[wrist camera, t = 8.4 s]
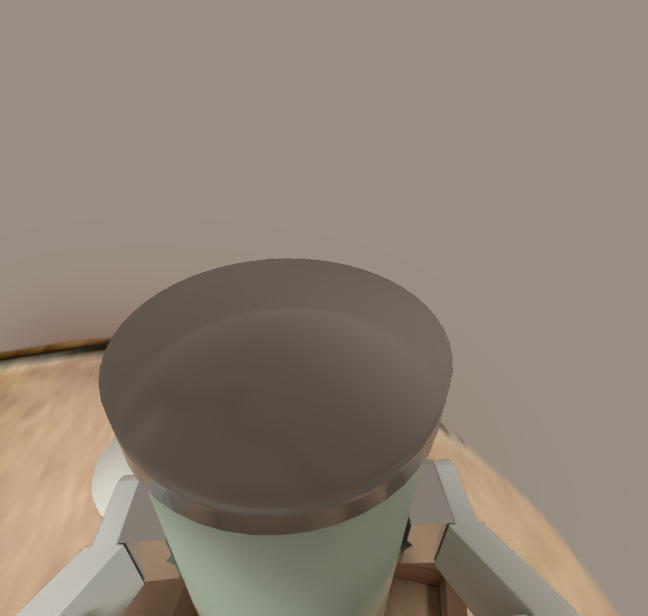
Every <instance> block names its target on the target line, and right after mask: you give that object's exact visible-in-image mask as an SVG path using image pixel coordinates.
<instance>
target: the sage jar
mask: <svg viewBox="0 0 648 616" xmlns="http://www.w3.org/2000/svg"><path fill="white" fill-rule="evenodd" d="M452 369H453V368H452V352H451V348H450V343H449V341H448V338H447V335H446V333H445V331H444V329H443V327H442V325H441V324H440V322H439V321H438V319H437V318H436V316H435V315H434V314H433V313H432V312H431V311H430V309H429V308H428V307H427V306H426V305H425V304H424V303H423V302H421V301H420V300H419V299H418V298H417V297H416V296H414V295H413V294H412V293H410V292H409V291H407V290H406V289H404V288H403V287H401V286H399V285H397V284H396V283H394V282H392V281H390V280H388V279H386V278H384V277H381V276H379V275H377V274H374V273H371V272H368V271H366V270H363V269H359V268H356V267H352V266H348V265H344V264H339V263H333V262H327V261H320V260H310V259H267V260H258V261H249V262H243V263H237V264H233V265H228V266H224V267H220V268H216V269H213V270H210V271H206V272H203V273H200V274H198V275H195V276H192V277H190V278H187V279H185V280H183V281H181V282H178V283H177V284H174V285H172V286H170V287H169V288H167V289H165V290H163V291H161V292H160V293H158V294H157V295H155V296H154V297H152V298H151V299H149V300H148V301H146V302H145V303H144V304H143V305H142V306H140V307H139V308H138V309H137V310H135V311H134V312H133V313H132V314H131V315H130V316H129V317H128V318H127V319H126V320H125V321H124V322H123V323H122V325H121V326H120V327H119V329H118V330H117V331H116V333H115V334H114V336H113V337H112V338H111V340H110V342H109V344H108V346H107V348H106V350H105V352H104V356H103V359H102V363H101V366H100V374H99V389H100V396H101V402H102V404H103V407H104V409H105V412H106V414H107V417H108V419H109V422H110V424H111V426H112V429H113V431H114V433H115V436H116V438H117V440H118V443H119V445H120V447H121V450H122V452H123V454H124V457H125V459H126V461H127V464H128V466H129V468H130V469H131V471H132V472H133V474H134V475H135V477H136V478H137V480H138V481H139V483H140V484H141V485H142V486H143V487H144V488H145V489H146V490H147V491H148V494H149V496H150V498H151V501H152V503H153V506H154V508H155V511H156V513H157V516H158V518H159V521H160V523H161V525H162V528H163V530H164V533H165V535H166V538H167V540H168V543H169V545H170V548H171V550H172V552H173V555H174V557H175V560H176V562H177V565H178V567H179V570H180V572H181V575H182V577H183V579H184V582H185V584H186V587H187V589H188V592H189V594H190V597H191V599H192V602H193V604H194V606H195V609H196V611H197V614H198V616H383V615H384V611H385V607H386V603H387V599H388V595H389V591H390V587H391V583H392V579H393V576H394V572H395V568H396V564H397V560H398V556H399V552H400V548H401V544H402V540H403V536H404V532H405V529H406V525H407V521H408V517H409V513H410V509H411V505H412V501H413V497H414V493H415V489H416V485H417V482H418V478H419V474H420V470H421V466H422V463H423V461H424V460H425V458H426V457H427V455H428V453H429V452H430V449H431V447H432V445H433V442H434V440H435V437H436V435H437V431H438V428H439V424H440V420H441V417H442V413H443V409H444V405H445V402H446V398H447V394H448V391H449V387H450V382H451V377H452V372H453V370H452Z"/></svg>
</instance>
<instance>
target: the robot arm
mask: <svg viewBox="0 0 648 616" xmlns="http://www.w3.org/2000/svg"><path fill="white" fill-rule="evenodd" d="M399 556H400V561H401V564H404V563H431V562H435V566H436V567H437V568H438V570H439V571H440V572H441V574H442V575H443V576H444V577H445V579H446V580H447V581H448V583H449V584H450V585H451V586H452V588H453V589H454V590H455V592H456V593H457V594H458V596H459V597H460V598H461V599H462V601H463V602H464V603H465V605H466V606H467V607H468V609H469V610H470V611H471V612H472V614H473V615H474V616H578V615H577V613H576V611H575V609H574V608H573V607H572V606H571V605H570V604H568V603H567V602H566V601H565V600H564V599H563V598H562V597H561V596H560V595H559V594H558V593H557V592H556V591H555V590H554V589H553V588H552V587H551V586H549V585H548V584H547V583H546V582H545V581H544V580H543V579H542V578H541V577H540V576H539V575H538V574H537V573H536V572H535V571H534V570H533V569H532V568H530V567H529V566H528V565H527V564H526V563H525V562H524V561H523V560H522V559H521V558H520V557H519V556H518V555H517V554H516V553H515V552H514V551H513V550H511V549H510V548H509V547H508V546H507V545H506V544H505V543H504V542H503V541H502V540H501V539H500V538H499V537H498V536H497V535H496V534H495V533H494V532H492V531H491V530H490V529H489V528H488V527H487V526H486V525H485V524H484V523H477V521H476V518H475V516H474V513H473V511H472V508H471V506H470V503H469V500H468V498H467V495H466V493H465V490H464V488H463V485H462V483H461V480H460V478H459V475H458V472H457V470H456V467H455V465H454V463H453V462H452V461H451V460H450V459H442V460H424V461H423V463H422V466H421V470H420V474H419V478H418V482H417V485H416V489H415V493H414V497H413V501H412V505H411V509H410V513H409V517H408V521H407V525H406V529H405V532H404V536H403V540H402V544H401V548H400V552H399ZM177 578H181V572H180V570H179V567H178V565H177V562H176V560H175V557H174V555H173V552H172V550H171V548H170V545H169V543H168V540H167V538H166V535H165V533H164V530H163V528H162V525H161V523H160V521H159V518H158V516H157V513H156V511H155V508H154V506H153V503H152V501H151V498H150V496H149V494H148V491H147V490H146V489H145V488H144V487H143V486H142V485H141V484H140V483H139V481H138V480H137V478H136V477H135V475H123V476H122V477H121V478H120V480H119V481H118V482H117V484H116V487H115V489H114V492H113V494H112V497H111V499H110V502H109V504H108V507H107V509H106V512H105V514H104V517H103V519H102V522H101V524H100V527H99V529H98V531H97V534H96V536H95V539H94V541H93V544H92V546H85V547H84V548H83V549H82V550H81V551H80V552H79V553H78V554H77V555H76V556H75V557H74V558H73V559H72V560H71V561H70V562H69V563H68V564H67V565H66V566H65V567H64V568H63V569H62V570H61V571H60V572H59V573H58V574H57V575H56V576H55V577H54V578H53V579H52V580H51V581H50V582H49V583H48V584H47V585H46V586H45V587H44V588H43V589H42V590H41V591H40V592H39V593H38V594H37V595H36V596H35V597H34V598H33V599H32V600H31V601H30V602H29V603H27V604H26V605H25V606H24V607H23V608H22V609H21V610H20V611H19V612H18V613H17V614H16V615H15V616H121V615H122V614H123V613H124V611H125V610H126V609H127V607H128V606H129V605H130V603H131V602H132V600H133V599H134V598H135V596H136V595H137V594H138V592H139V591H140V589H141V588H142V587H143V585H144V582H146V581H156V580H167V579H177Z"/></svg>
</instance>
